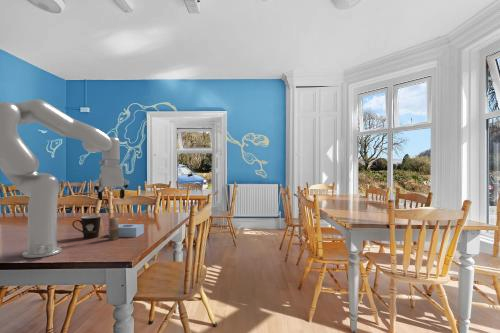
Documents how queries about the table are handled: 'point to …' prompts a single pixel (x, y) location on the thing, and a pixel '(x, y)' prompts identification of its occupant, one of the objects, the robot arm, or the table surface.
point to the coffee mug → (89, 226)
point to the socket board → (130, 230)
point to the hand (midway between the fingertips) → (111, 199)
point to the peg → (113, 228)
